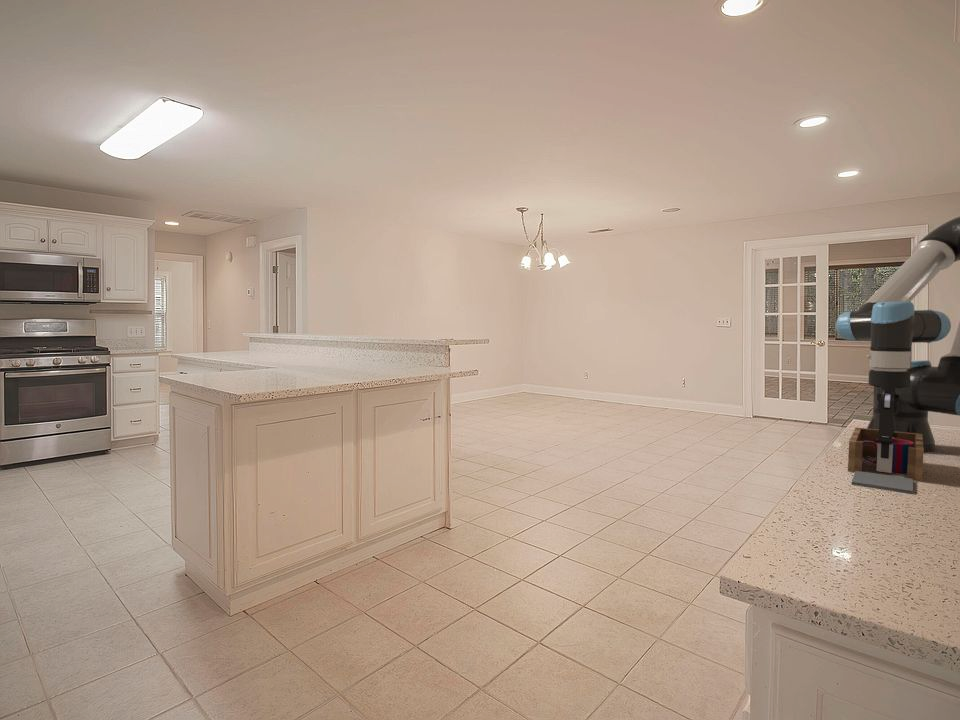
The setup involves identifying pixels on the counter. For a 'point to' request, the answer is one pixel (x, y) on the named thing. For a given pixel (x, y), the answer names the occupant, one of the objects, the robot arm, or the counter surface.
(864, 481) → the slate mat
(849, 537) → the counter surface
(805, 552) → the counter surface
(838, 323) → the robot arm
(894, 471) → the mug
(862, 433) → the walnut box
